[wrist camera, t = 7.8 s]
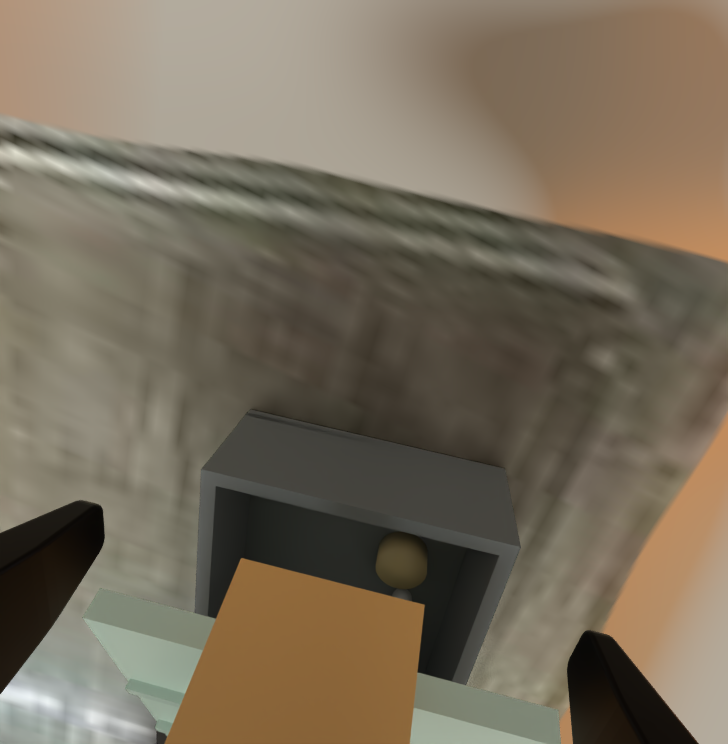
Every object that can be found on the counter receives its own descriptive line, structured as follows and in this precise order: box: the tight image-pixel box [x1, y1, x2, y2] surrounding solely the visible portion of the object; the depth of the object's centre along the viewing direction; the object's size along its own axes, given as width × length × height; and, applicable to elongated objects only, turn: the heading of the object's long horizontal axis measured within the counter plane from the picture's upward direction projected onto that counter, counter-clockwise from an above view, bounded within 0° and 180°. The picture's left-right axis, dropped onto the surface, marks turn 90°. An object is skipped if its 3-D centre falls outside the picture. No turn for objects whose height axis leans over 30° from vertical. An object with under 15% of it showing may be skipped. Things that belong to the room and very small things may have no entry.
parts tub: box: [195, 409, 521, 685], centre depth 23 cm, size 18×12×6 cm
